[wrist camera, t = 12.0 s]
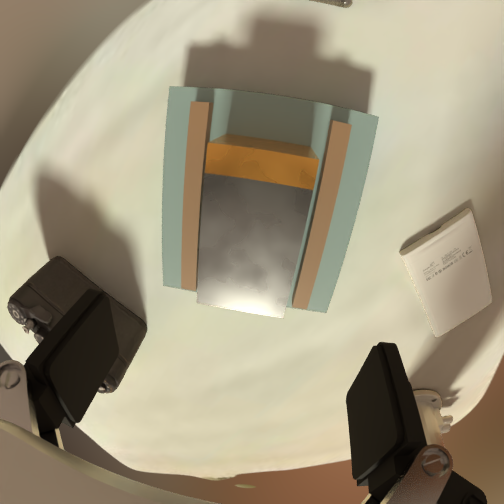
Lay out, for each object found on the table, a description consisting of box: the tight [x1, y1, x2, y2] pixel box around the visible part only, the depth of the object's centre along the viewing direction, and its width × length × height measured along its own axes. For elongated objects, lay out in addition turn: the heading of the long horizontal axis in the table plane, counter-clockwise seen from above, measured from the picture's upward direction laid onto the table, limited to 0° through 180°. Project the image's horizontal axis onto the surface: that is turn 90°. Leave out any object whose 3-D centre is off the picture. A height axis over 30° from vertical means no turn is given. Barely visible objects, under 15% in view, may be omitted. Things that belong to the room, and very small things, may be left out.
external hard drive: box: [399, 208, 492, 337], centre depth 25 cm, size 2×8×12 cm
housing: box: [197, 134, 319, 318], centre depth 19 cm, size 10×6×5 cm, turn 173°
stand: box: [162, 86, 379, 313], centre depth 22 cm, size 14×16×4 cm
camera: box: [7, 257, 147, 393], centre depth 28 cm, size 14×11×10 cm
